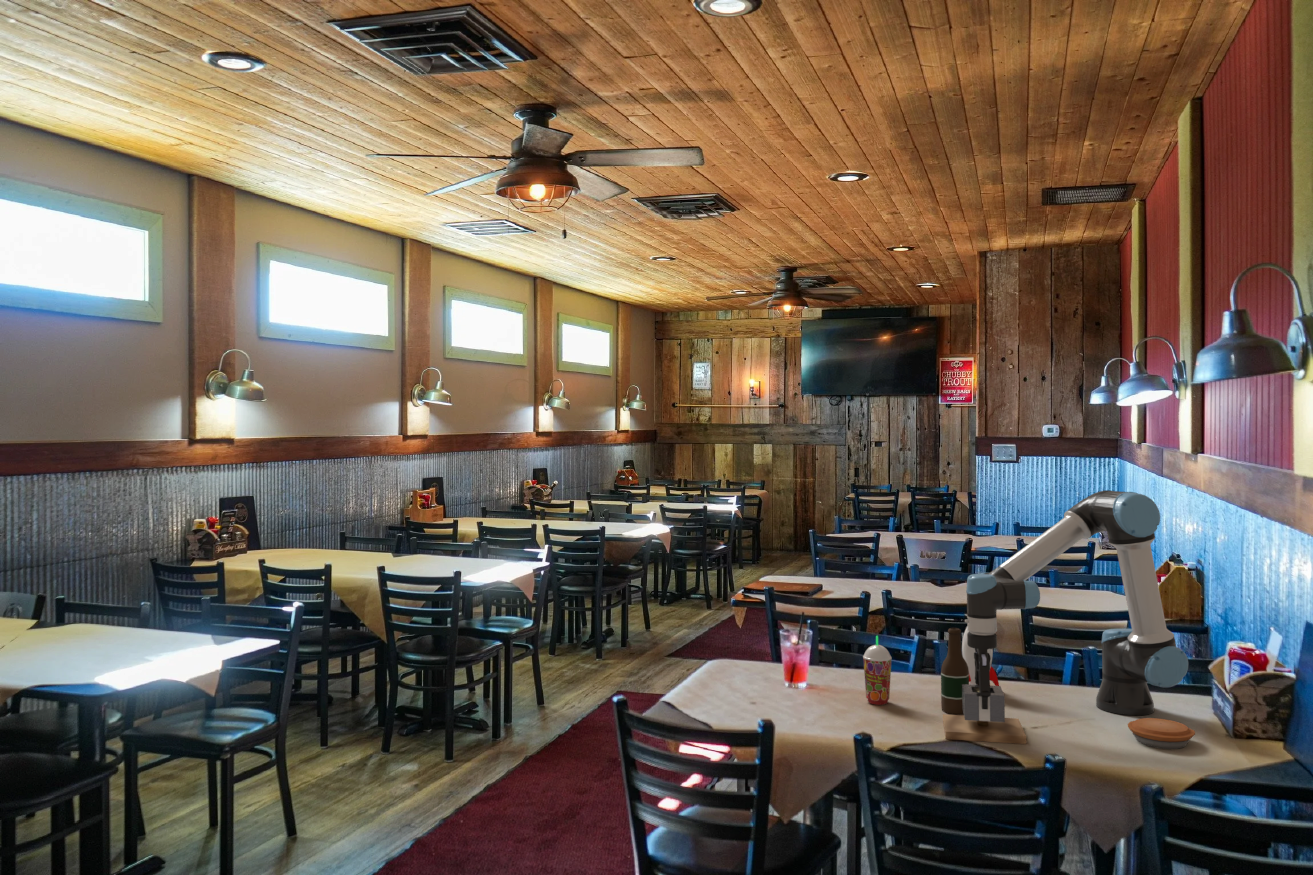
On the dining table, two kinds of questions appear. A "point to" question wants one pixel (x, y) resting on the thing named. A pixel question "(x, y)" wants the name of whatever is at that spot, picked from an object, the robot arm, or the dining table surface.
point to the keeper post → (983, 723)
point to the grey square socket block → (972, 703)
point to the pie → (1161, 733)
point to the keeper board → (983, 730)
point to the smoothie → (877, 674)
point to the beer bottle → (953, 675)
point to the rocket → (969, 658)
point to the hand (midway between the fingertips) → (982, 714)
